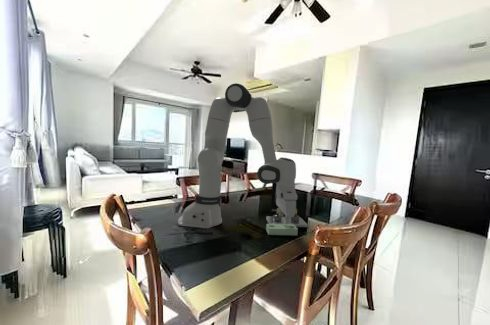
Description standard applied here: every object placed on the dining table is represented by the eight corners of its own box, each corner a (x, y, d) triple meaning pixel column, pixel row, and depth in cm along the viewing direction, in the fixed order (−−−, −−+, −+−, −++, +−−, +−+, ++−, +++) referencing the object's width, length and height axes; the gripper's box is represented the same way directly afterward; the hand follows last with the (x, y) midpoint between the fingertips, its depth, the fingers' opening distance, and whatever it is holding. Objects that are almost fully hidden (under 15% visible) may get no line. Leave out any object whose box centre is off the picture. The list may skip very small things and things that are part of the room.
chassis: (270, 226, 115) (271, 211, 114) (266, 218, 126) (267, 205, 125) (307, 227, 117) (308, 212, 116) (300, 219, 128) (301, 206, 127)
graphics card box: (280, 214, 135) (284, 170, 133) (269, 213, 137) (272, 169, 134) (282, 206, 152) (285, 167, 149) (271, 205, 153) (274, 166, 151)
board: (268, 234, 104) (268, 228, 104) (266, 229, 110) (266, 223, 110) (297, 235, 106) (297, 229, 106) (293, 230, 112) (293, 224, 111)
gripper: (273, 187, 116) (272, 212, 118) (284, 197, 96) (283, 227, 97) (285, 187, 117) (284, 212, 118) (299, 197, 97) (297, 227, 98)
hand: (283, 219), depth 108 cm, fingers open, 8 cm apart
